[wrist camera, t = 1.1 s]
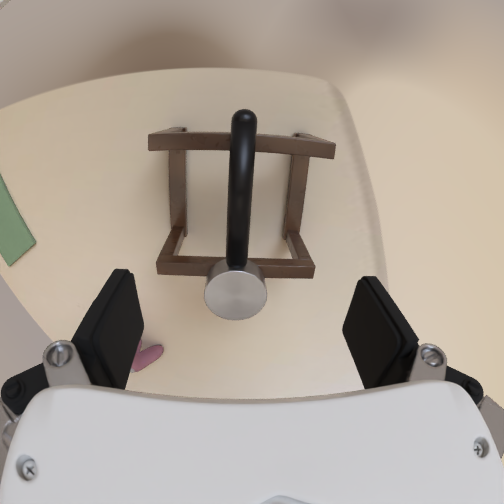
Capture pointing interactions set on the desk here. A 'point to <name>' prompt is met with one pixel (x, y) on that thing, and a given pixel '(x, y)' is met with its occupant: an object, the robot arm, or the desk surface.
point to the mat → (12, 229)
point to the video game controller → (145, 357)
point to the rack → (183, 140)
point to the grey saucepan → (238, 233)
